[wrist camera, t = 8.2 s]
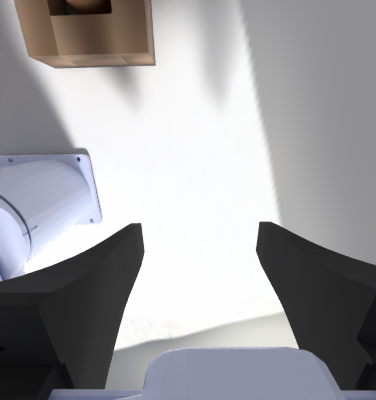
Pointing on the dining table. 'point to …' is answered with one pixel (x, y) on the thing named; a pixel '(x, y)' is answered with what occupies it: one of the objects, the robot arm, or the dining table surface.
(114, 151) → the dining table surface
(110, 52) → the hole block
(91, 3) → the pin
